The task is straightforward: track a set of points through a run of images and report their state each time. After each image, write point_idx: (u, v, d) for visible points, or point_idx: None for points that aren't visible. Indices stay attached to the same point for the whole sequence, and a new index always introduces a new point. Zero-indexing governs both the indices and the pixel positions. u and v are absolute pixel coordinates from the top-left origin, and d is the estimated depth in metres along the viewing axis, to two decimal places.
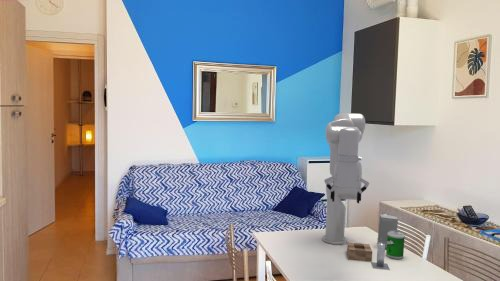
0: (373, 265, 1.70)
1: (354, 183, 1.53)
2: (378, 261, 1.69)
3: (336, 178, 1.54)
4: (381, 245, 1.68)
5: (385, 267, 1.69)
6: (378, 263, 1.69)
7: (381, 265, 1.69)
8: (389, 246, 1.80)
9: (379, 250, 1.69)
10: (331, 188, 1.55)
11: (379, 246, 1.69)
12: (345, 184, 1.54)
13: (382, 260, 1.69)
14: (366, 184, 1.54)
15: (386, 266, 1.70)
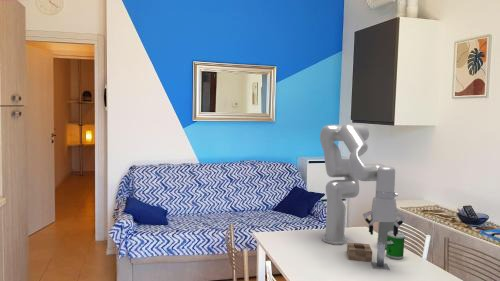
0: (373, 265, 1.70)
1: (391, 218, 1.65)
2: (378, 261, 1.69)
3: (374, 213, 1.66)
4: (381, 245, 1.68)
5: (385, 267, 1.69)
6: (378, 263, 1.69)
7: (381, 265, 1.69)
8: (389, 246, 1.80)
9: (379, 250, 1.69)
10: (370, 222, 1.68)
11: (379, 246, 1.69)
12: (383, 219, 1.66)
13: (382, 260, 1.69)
14: (402, 218, 1.66)
15: (386, 266, 1.70)
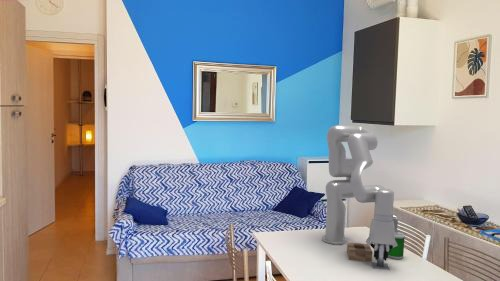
0: (373, 265, 1.70)
1: (389, 240, 1.67)
2: (378, 261, 1.69)
3: (373, 235, 1.68)
4: (381, 245, 1.68)
5: (385, 267, 1.69)
6: (378, 263, 1.69)
7: (381, 265, 1.69)
8: None
9: (379, 250, 1.69)
10: (374, 248, 1.69)
11: (379, 246, 1.69)
12: (381, 241, 1.67)
13: (382, 260, 1.69)
14: (394, 244, 1.68)
15: (386, 266, 1.70)
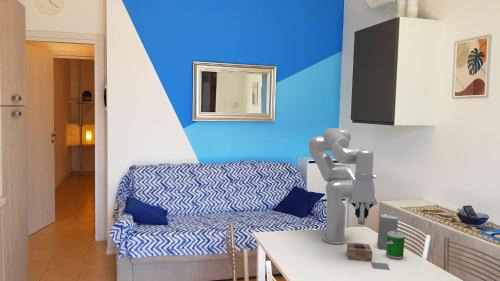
0: (373, 265, 1.70)
1: (369, 198, 1.75)
2: (359, 219, 1.78)
3: (354, 194, 1.76)
4: (362, 203, 1.77)
5: (385, 267, 1.69)
6: (359, 221, 1.78)
7: (362, 223, 1.77)
8: (389, 246, 1.80)
9: (360, 208, 1.77)
10: (355, 206, 1.77)
11: (360, 205, 1.77)
12: (362, 200, 1.76)
13: (363, 218, 1.77)
14: (374, 203, 1.76)
15: (386, 266, 1.70)
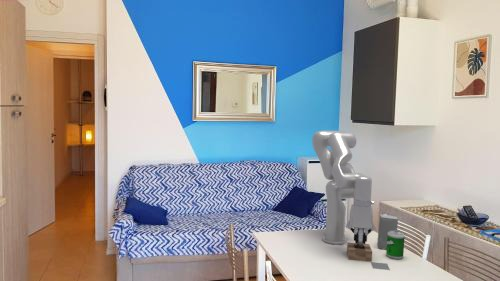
0: (373, 265, 1.70)
1: (368, 224, 1.76)
2: (358, 244, 1.79)
3: (352, 220, 1.77)
4: (360, 229, 1.78)
5: (385, 267, 1.69)
6: (358, 246, 1.79)
7: (360, 248, 1.78)
8: (389, 247, 1.80)
9: (358, 234, 1.78)
10: (354, 232, 1.78)
11: (358, 230, 1.78)
12: (360, 225, 1.77)
13: (361, 243, 1.78)
14: (373, 228, 1.77)
15: (386, 266, 1.70)
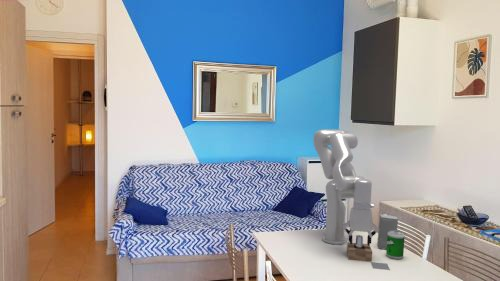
0: (373, 265, 1.70)
1: (367, 227, 1.76)
2: None
3: (352, 223, 1.78)
4: (359, 238, 1.78)
5: (385, 267, 1.69)
6: None
7: None
8: (389, 246, 1.80)
9: (357, 242, 1.79)
10: (349, 233, 1.79)
11: (357, 239, 1.79)
12: (360, 228, 1.77)
13: None
14: (376, 229, 1.77)
15: (386, 266, 1.70)
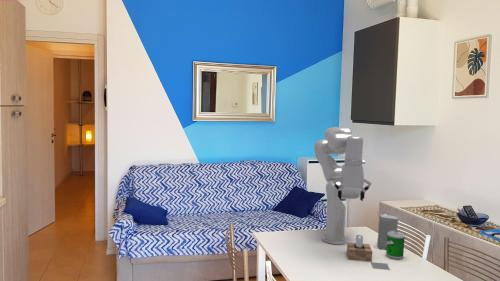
0: (373, 265, 1.70)
1: (359, 183, 1.77)
2: None
3: (343, 179, 1.78)
4: (359, 238, 1.78)
5: (385, 267, 1.69)
6: None
7: None
8: (389, 247, 1.80)
9: (357, 242, 1.79)
10: (339, 188, 1.79)
11: (357, 239, 1.79)
12: (351, 185, 1.78)
13: None
14: (369, 184, 1.78)
15: (386, 266, 1.70)
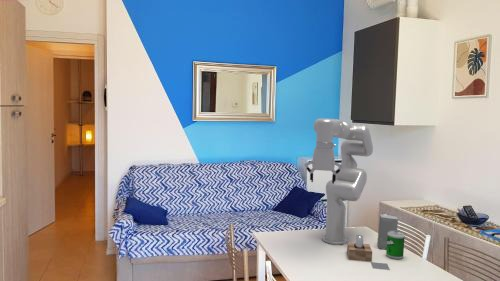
0: (373, 265, 1.70)
1: (329, 166, 1.80)
2: None
3: (314, 162, 1.81)
4: (359, 238, 1.78)
5: (385, 267, 1.69)
6: None
7: None
8: (389, 246, 1.80)
9: (357, 242, 1.79)
10: (310, 170, 1.83)
11: (357, 239, 1.79)
12: (322, 167, 1.81)
13: None
14: (340, 167, 1.81)
15: (386, 266, 1.70)
